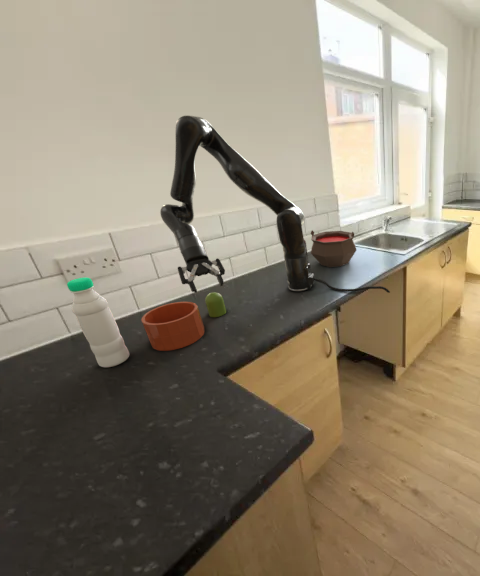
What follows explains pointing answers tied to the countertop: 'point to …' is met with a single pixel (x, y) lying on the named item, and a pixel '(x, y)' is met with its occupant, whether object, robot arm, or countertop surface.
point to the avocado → (215, 304)
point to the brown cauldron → (333, 247)
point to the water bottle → (97, 323)
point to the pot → (173, 325)
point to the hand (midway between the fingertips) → (209, 288)
